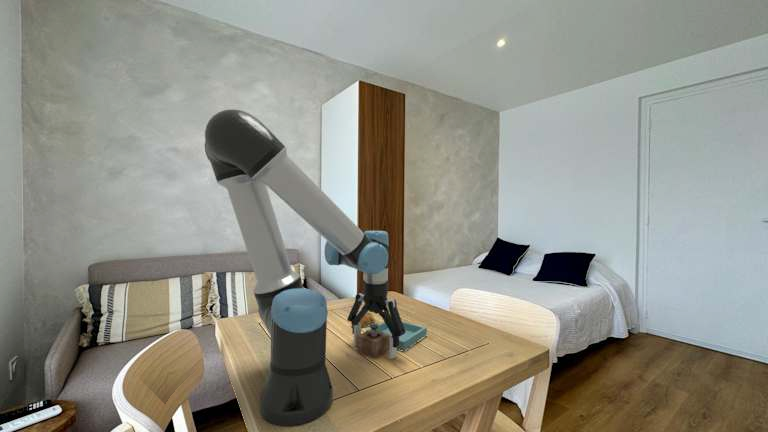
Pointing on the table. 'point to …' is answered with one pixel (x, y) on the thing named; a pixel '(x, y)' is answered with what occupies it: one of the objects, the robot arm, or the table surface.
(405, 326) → the tray
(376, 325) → the metal bolt
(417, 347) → the table surface
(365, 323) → the pastry
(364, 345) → the collar
